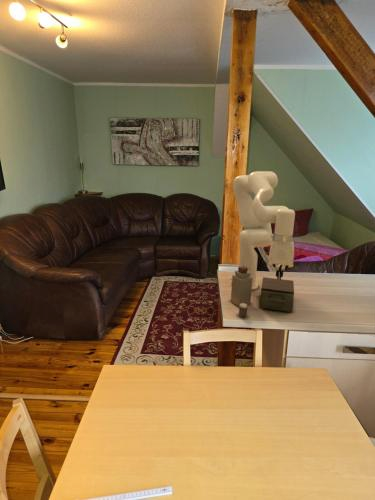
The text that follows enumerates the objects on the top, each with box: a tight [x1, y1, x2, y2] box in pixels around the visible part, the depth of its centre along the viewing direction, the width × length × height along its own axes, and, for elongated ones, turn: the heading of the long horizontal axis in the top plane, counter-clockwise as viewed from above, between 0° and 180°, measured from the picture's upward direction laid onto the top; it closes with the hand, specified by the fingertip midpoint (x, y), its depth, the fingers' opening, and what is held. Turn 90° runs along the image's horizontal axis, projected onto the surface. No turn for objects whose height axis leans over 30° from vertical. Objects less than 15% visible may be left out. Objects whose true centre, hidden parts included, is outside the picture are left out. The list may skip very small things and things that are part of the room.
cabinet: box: [259, 276, 295, 313], centre depth 160 cm, size 15×15×10 cm
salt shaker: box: [238, 303, 248, 319], centre depth 147 cm, size 4×4×6 cm
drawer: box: [260, 290, 293, 313], centre depth 155 cm, size 18×13×8 cm
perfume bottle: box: [230, 266, 253, 307], centre depth 159 cm, size 7×7×18 cm
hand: (279, 278), depth 147 cm, fingers closed
